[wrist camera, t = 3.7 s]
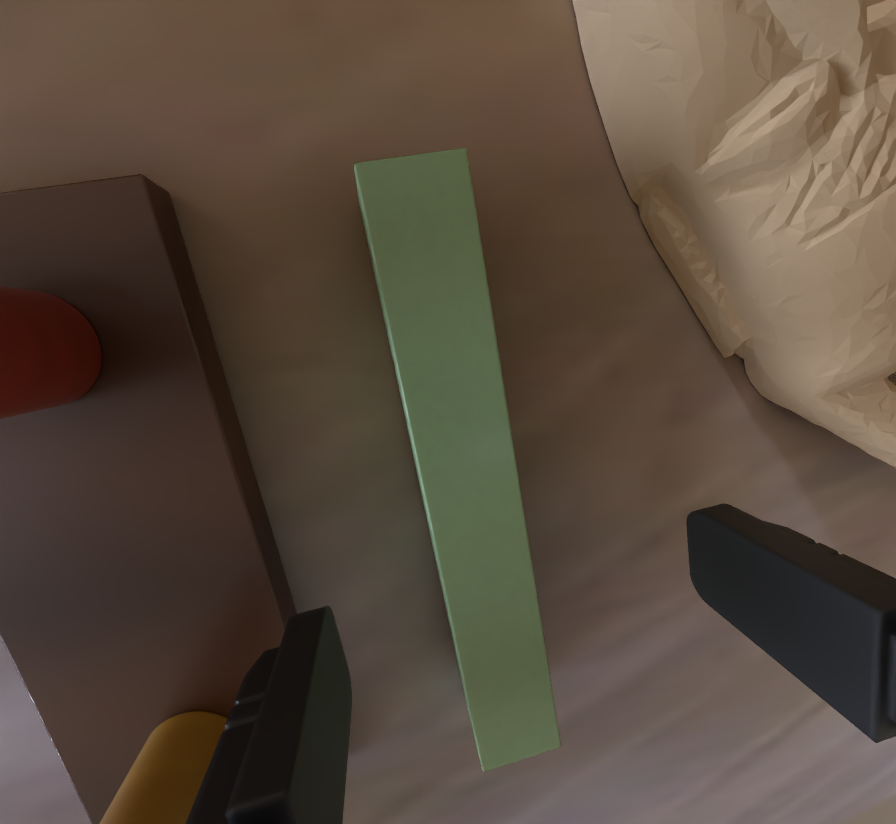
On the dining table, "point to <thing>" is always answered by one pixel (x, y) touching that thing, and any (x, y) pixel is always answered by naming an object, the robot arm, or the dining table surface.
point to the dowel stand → (124, 499)
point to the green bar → (461, 441)
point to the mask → (767, 184)
